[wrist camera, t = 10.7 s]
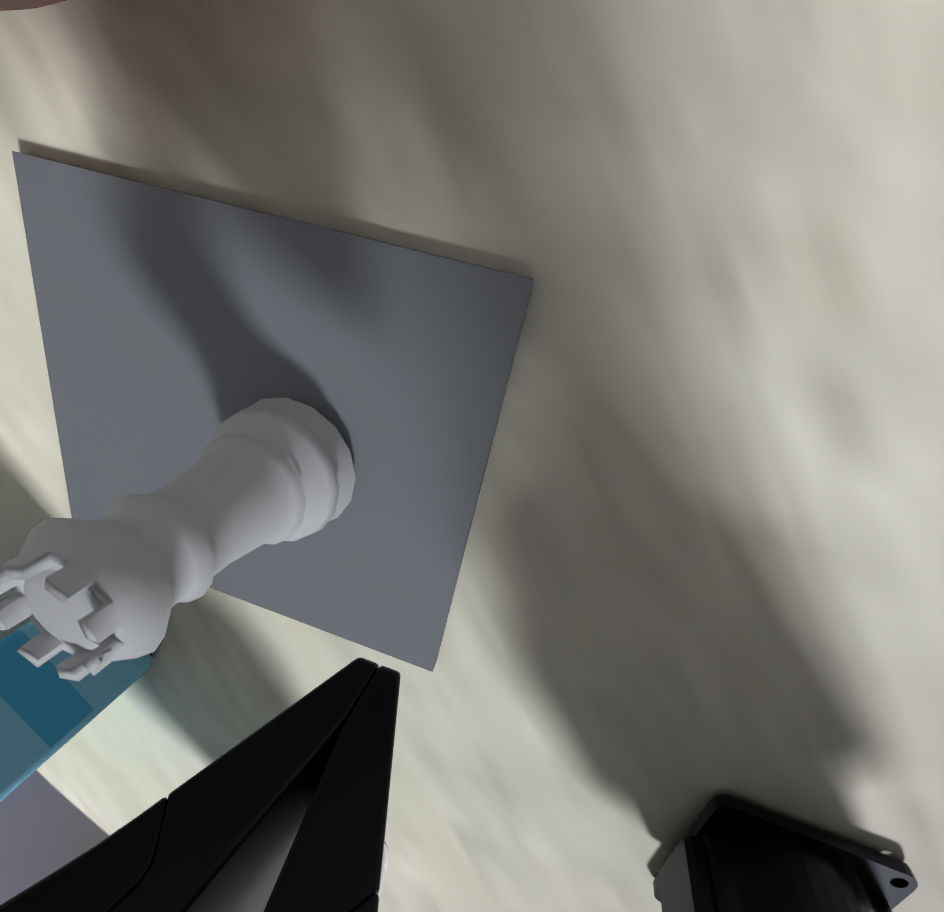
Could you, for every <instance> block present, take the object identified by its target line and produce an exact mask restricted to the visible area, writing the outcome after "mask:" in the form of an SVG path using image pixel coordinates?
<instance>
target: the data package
mask: <svg viewBox="0 0 944 912" xmlns="http://www.w3.org/2000/svg"><path fill="white" fill-rule="evenodd" d="M39 634H41V632H40V631H39V630H38V628H37V627H36V626H35V625H34V624H33V623H32V621H30V622H28V623H27V624H25V625H23V626H22V627H20V628H19V629H17V630H15V631H14V632H12V633H10V634H9V635H7V636H6V637H4V638H2V639H1V640H0V801H2V800H3V799H4V798H5V797H6V796H7V795H8V794H9V793H11V792H12V791H13V790H14V789H15V788H16V787H17V786H18V785H19V784H21V783H22V782H23V781H24V780H25V779H26V778H27V777H28V776H29V775H31V774H32V773H33V772H34V771H35V770H36V769H37V768H39V767H40V766H41V765H42V764H43V763H44V762H45V761H46V760H48V759H49V758H50V757H51V756H52V755H53V754H54V753H55V752H56V751H58V750H59V749H60V748H61V747H62V746H63V745H64V744H65V743H67V742H68V741H69V740H70V739H71V738H72V737H73V736H74V735H76V734H77V733H78V732H79V731H80V730H81V729H82V728H83V727H85V726H86V725H87V724H88V723H89V722H90V721H91V720H92V719H93V718H95V717H96V716H97V715H98V714H99V713H100V712H101V711H102V710H104V709H105V708H106V707H107V706H108V705H109V704H110V703H111V702H113V701H114V700H115V699H116V698H117V697H118V696H119V695H120V694H122V693H123V692H124V691H125V690H126V689H127V688H128V687H129V686H130V685H132V684H133V683H134V682H135V681H136V680H137V679H138V678H139V677H140V676H141V675H142V674H143V673H144V672H145V671H146V670H147V669H148V668H149V666H150V665H151V663H152V657H151V655H150V654H147V655H144V656H141V657H138V658H134V659H126V660H118V661H112V662H111V663H109V664H108V665H107V666H106V667H104V668H103V669H102V670H101V671H100V672H98V673H97V674H96V675H95V676H93V675H92V674H91V673H89V674H88V675H86V676H85V677H84V678H83V679H81V680H80V681H75V680H68V679H62V678H59V675H58V672H57V669H56V666H57V665H59V664H60V663H61V662H63V661H64V660H65V659H67V658H68V657H69V656H71V655H72V654H70V653H68V652H66V651H64V650H62V651H61V652H59V653H58V654H56V655H55V656H54V657H52V658H51V659H49V660H48V661H47V662H45V663H44V664H42V665H41V666H40V667H38V668H37V667H36V666H35V665H34V664H32V663H31V662H30V661H28V660H27V659H26V658H25V657H23V656H22V655H21V654H19V653H18V652H17V650H18V649H19V648H20V647H21V646H22V645H24V644H25V643H27V642H28V641H30V640H31V639H33V638H34V637H36V636H38V635H39Z"/></svg>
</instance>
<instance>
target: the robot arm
mask: <svg viewBox="0 0 944 912" xmlns="http://www.w3.org/2000/svg"><path fill="white" fill-rule="evenodd" d="M399 686H400V673H399V672H398V671H395V670H392V669H390V668H387V667H385V666H381V667H379V666H378V664H376V663H374V662H372V661H369V660H366V659H364V658H357V659H355V660H354V661H352V662H351V663H350V664H348V665H347V666H346V667H344V668H343V669H341V670H340V671H339V672H337V673H336V674H334V675H333V676H332V677H330V678H329V679H328V680H326V681H325V682H323V683H322V684H321V685H319V686H318V687H316V688H315V689H314V690H312V691H311V692H310V693H308V694H307V695H305V696H304V697H303V698H301V699H300V700H298V701H297V702H296V703H294V704H293V705H292V706H290V707H289V708H287V709H286V710H285V711H283V712H282V713H280V714H279V715H278V716H276V717H275V718H274V719H272V720H271V721H269V722H268V723H267V724H265V725H264V726H262V727H261V728H260V729H258V730H257V731H256V732H254V733H253V734H251V735H250V736H249V737H247V738H246V739H244V740H243V741H242V742H240V743H239V744H238V745H236V746H235V747H233V748H232V749H231V750H229V751H228V752H226V753H225V754H224V755H222V756H221V757H220V758H218V759H217V760H215V761H214V762H213V763H211V764H210V765H208V766H207V767H206V768H204V769H203V770H202V771H200V772H199V773H197V774H196V775H195V776H193V777H192V778H190V779H189V780H188V781H186V782H185V783H184V784H182V785H181V786H179V787H178V788H177V789H175V790H174V791H172V792H171V793H170V794H169V796H168V800H167V798H162V799H161V800H160V801H158V802H157V803H155V804H154V805H153V806H151V807H150V808H149V809H147V810H146V811H144V812H143V813H142V814H140V815H139V816H138V817H136V818H135V819H133V820H132V821H130V822H129V823H128V824H126V825H125V826H123V827H122V828H120V829H119V830H117V831H116V832H114V833H113V834H112V835H110V836H109V837H107V838H106V839H105V840H103V841H101V842H100V843H99V844H97V845H96V846H94V847H93V848H91V849H89V850H88V851H87V852H85V853H83V854H82V855H80V856H78V857H77V858H76V859H74V860H72V861H71V862H69V863H67V864H66V865H64V866H63V867H61V868H59V869H58V870H56V871H55V872H53V873H52V874H50V875H48V876H47V877H45V878H44V879H42V880H41V881H39V882H37V883H36V884H34V885H33V886H31V887H29V888H28V889H26V890H24V891H22V892H21V893H19V894H17V895H16V896H14V897H13V898H11V899H9V900H8V901H6V902H5V903H3V904H1V905H0V912H378V904H379V896H378V893H379V890H380V881H381V870H382V860H383V850H384V840H385V829H386V819H387V809H388V799H389V788H390V778H391V768H392V758H393V747H394V737H395V727H396V716H397V706H398V696H399ZM653 886H654V895H655V898H656V899H657V900H658V901H660V902H661V904H662V912H892V911H891V910H892V909H893V908H894V907H895V906H897V905H898V904H899V903H900V902H901V901H903V900H904V899H905V898H906V897H907V896H908V895H910V894H911V893H912V892H913V891H914V890H915V889H916V888H917V886H918V884H917V881H916V879H915V877H914V875H913V873H912V871H911V869H910V867H909V866H908V865H907V864H905V863H904V862H902V861H899V860H897V859H894V858H892V857H889V856H886V855H884V854H881V853H878V852H876V851H873V850H871V849H868V848H865V847H863V846H860V845H857V844H855V843H852V842H850V841H847V840H844V839H842V838H839V837H837V836H834V835H831V834H829V833H826V832H823V831H821V830H818V829H816V828H813V827H810V826H808V825H805V824H803V823H800V822H797V821H795V820H792V819H789V818H787V817H784V816H782V815H779V814H776V813H774V812H771V811H768V810H766V809H763V808H761V807H758V806H755V805H753V804H750V803H748V802H745V801H742V800H740V799H737V798H734V797H732V796H728V795H719V796H715V797H714V798H712V799H711V801H710V802H709V803H708V805H707V806H706V808H705V809H704V810H703V812H702V813H701V815H700V816H699V817H698V819H697V820H696V822H695V823H694V824H693V826H692V827H691V829H690V830H689V831H688V833H687V834H686V836H684V837H683V838H682V839H681V841H680V842H679V844H678V845H677V846H676V848H675V849H674V851H673V852H672V853H671V855H670V856H669V858H668V859H667V860H666V862H665V863H664V865H663V866H662V867H661V869H660V870H659V873H658V875H657V876H656V878H655V879H654V882H653Z"/></svg>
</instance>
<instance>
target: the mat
mask: <svg viewBox="0 0 944 912" xmlns="http://www.w3.org/2000/svg"><path fill="white" fill-rule="evenodd" d="M12 153H13V159H14V165H15V172H16V178H17V184H18V190H19V196H20V202H21V208H22V215H23V221H24V227H25V233H26V239H27V245H28V251H29V258H30V264H31V270H32V276H33V282H34V288H35V294H36V300H37V307H38V313H39V319H40V325H41V331H42V337H43V343H44V350H45V356H46V362H47V368H48V374H49V380H50V386H51V393H52V399H53V405H54V411H55V417H56V423H57V429H58V436H59V442H60V448H61V454H62V460H63V466H64V472H65V479H66V485H67V491H68V497H69V503H70V509H71V515H72V519H83V520H93V521H97V520H100V519H103V518H105V517H106V516H107V514H108V512H109V509H110V507H111V505H112V503H113V502H114V501H116V500H117V499H119V498H121V497H122V496H124V495H126V494H149V493H151V492H153V491H155V490H157V489H159V488H161V487H163V486H164V485H166V484H167V483H169V482H170V481H171V480H173V479H174V478H176V477H177V476H178V475H180V474H181V473H183V472H184V471H186V470H187V469H188V468H190V467H191V466H193V465H194V464H195V463H196V462H197V461H198V460H199V458H200V456H201V454H202V452H203V450H204V448H205V447H206V445H207V444H208V443H209V442H210V440H211V438H212V436H213V434H214V433H215V431H216V429H217V427H218V426H219V425H220V424H221V423H222V422H223V421H224V420H226V419H227V418H229V417H231V416H232V415H234V414H236V413H237V412H239V411H241V410H242V409H246V408H248V407H249V406H251V405H253V404H254V403H256V402H257V401H259V400H261V399H268V398H289V399H292V400H294V401H297V402H300V403H303V404H305V405H308V406H311V407H313V408H314V409H315V410H316V411H317V412H319V413H320V414H321V415H322V416H323V417H325V418H326V419H327V420H328V421H329V422H330V423H332V424H333V425H334V426H335V427H336V428H337V430H338V431H339V433H340V435H341V436H342V438H343V439H344V441H345V443H346V444H347V446H348V448H349V450H350V453H351V458H352V463H353V467H354V472H355V477H356V478H355V483H354V488H353V493H352V498H351V501H350V503H349V504H348V505H347V507H346V508H345V509H344V510H343V512H342V513H341V514H340V515H339V517H338V518H336V519H333V520H331V521H329V522H328V523H327V524H326V525H325V526H324V528H323V529H322V530H320V531H317V532H315V533H312V534H310V535H308V536H305V537H303V538H301V539H298V540H296V541H282V542H280V543H277V544H263V545H261V546H259V547H257V548H256V549H254V550H252V551H251V552H249V553H247V554H245V555H244V556H242V557H240V558H239V559H237V560H235V561H233V562H232V563H230V564H228V565H227V566H226V567H225V568H223V569H222V570H221V571H220V572H218V573H217V574H216V575H215V576H214V577H213V583H212V584H211V586H210V588H213V589H215V590H218V591H221V592H223V593H226V594H228V595H231V596H234V597H236V598H239V599H242V600H244V601H247V602H250V603H252V604H255V605H257V606H260V607H263V608H265V609H268V610H271V611H273V612H276V613H279V614H281V615H284V616H287V617H289V618H292V619H294V620H297V621H300V622H302V623H305V624H308V625H310V626H313V627H316V628H318V629H321V630H324V631H326V632H329V633H331V634H334V635H337V636H339V637H342V638H345V639H347V640H350V641H353V642H355V643H358V644H360V645H363V646H366V647H368V648H371V649H374V650H376V651H379V652H382V653H384V654H387V655H390V656H392V657H395V658H397V659H400V660H403V661H405V662H408V663H411V664H413V665H416V666H419V667H421V668H424V669H426V670H429V671H432V672H433V669H434V667H435V664H436V661H437V657H438V653H439V649H440V645H441V641H442V637H443V633H444V629H445V626H446V622H447V618H448V614H449V610H450V606H451V602H452V598H453V594H454V590H455V586H456V583H457V579H458V575H459V571H460V567H461V563H462V559H463V555H464V551H465V547H466V543H467V539H468V536H469V532H470V528H471V524H472V520H473V516H474V512H475V508H476V504H477V500H478V496H479V493H480V489H481V485H482V481H483V477H484V473H485V469H486V465H487V461H488V457H489V453H490V450H491V446H492V442H493V438H494V434H495V430H496V426H497V422H498V418H499V414H500V410H501V406H502V403H503V399H504V395H505V391H506V387H507V383H508V379H509V375H510V371H511V367H512V363H513V360H514V356H515V352H516V348H517V344H518V340H519V336H520V332H521V328H522V324H523V320H524V316H525V313H526V309H527V305H528V301H529V297H530V293H531V289H532V285H533V281H534V280H533V279H529V278H525V277H521V276H517V275H513V274H509V273H505V272H501V271H497V270H493V269H489V268H485V267H481V266H477V265H473V264H469V263H465V262H461V261H457V260H453V259H448V258H444V257H440V256H436V255H432V254H428V253H424V252H420V251H416V250H412V249H408V248H404V247H400V246H396V245H392V244H388V243H384V242H380V241H376V240H372V239H368V238H364V237H360V236H356V235H352V234H348V233H344V232H340V231H335V230H331V229H327V228H323V227H319V226H315V225H311V224H307V223H303V222H299V221H295V220H291V219H287V218H283V217H279V216H275V215H271V214H267V213H263V212H259V211H255V210H251V209H247V208H243V207H239V206H235V205H231V204H226V203H222V202H218V201H214V200H210V199H206V198H202V197H198V196H194V195H190V194H186V193H182V192H178V191H174V190H170V189H166V188H162V187H158V186H154V185H150V184H146V183H142V182H138V181H134V180H130V179H126V178H122V177H118V176H113V175H109V174H105V173H101V172H97V171H93V170H89V169H85V168H81V167H77V166H73V165H69V164H65V163H61V162H57V161H53V160H49V159H45V158H41V157H37V156H33V155H29V154H24V153H19V152H14V151H12Z"/></svg>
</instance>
